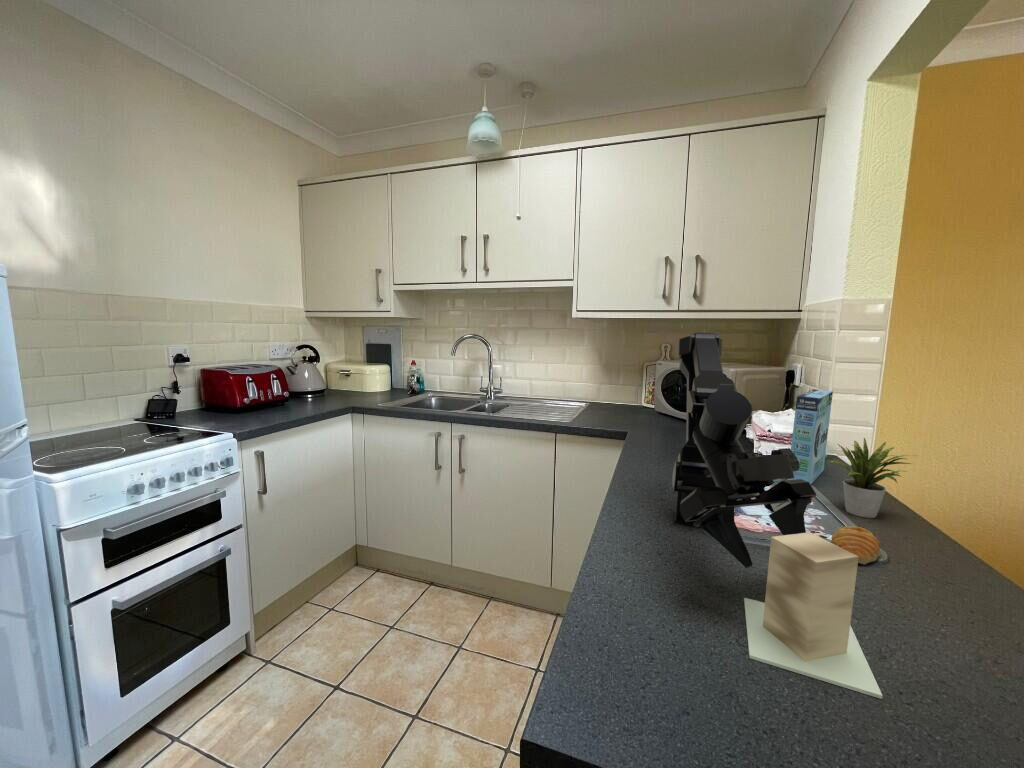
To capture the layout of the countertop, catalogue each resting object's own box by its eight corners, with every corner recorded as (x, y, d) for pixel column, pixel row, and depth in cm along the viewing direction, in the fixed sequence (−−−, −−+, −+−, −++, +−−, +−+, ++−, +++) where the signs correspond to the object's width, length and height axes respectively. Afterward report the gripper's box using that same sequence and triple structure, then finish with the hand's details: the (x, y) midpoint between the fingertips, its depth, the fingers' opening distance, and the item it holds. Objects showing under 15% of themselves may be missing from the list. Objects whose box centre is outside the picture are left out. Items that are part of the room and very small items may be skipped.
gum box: (803, 467, 122) (811, 388, 119) (825, 471, 118) (834, 390, 115) (786, 482, 108) (794, 394, 105) (810, 488, 104) (819, 397, 102)
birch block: (762, 625, 53) (771, 536, 52) (800, 619, 55) (810, 532, 53) (805, 661, 48) (816, 562, 46) (846, 653, 49) (858, 556, 48)
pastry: (879, 573, 67) (881, 550, 67) (826, 558, 72) (828, 537, 71) (880, 551, 74) (882, 530, 74) (832, 539, 79) (834, 519, 78)
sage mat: (749, 658, 49) (749, 654, 49) (743, 600, 59) (744, 597, 59) (882, 699, 43) (882, 695, 43) (849, 627, 54) (850, 624, 54)
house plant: (891, 536, 79) (902, 452, 77) (808, 509, 91) (816, 436, 89) (916, 520, 87) (927, 443, 85) (837, 497, 99) (845, 429, 97)
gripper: (699, 430, 55) (759, 552, 46) (811, 425, 60) (886, 534, 51) (660, 469, 64) (704, 577, 55) (761, 461, 69) (817, 560, 59)
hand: (778, 562), depth 55 cm, fingers open, 9 cm apart
